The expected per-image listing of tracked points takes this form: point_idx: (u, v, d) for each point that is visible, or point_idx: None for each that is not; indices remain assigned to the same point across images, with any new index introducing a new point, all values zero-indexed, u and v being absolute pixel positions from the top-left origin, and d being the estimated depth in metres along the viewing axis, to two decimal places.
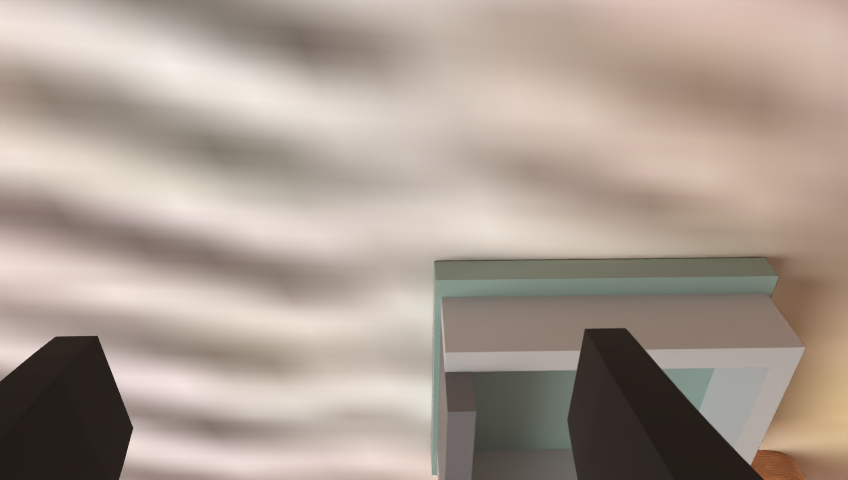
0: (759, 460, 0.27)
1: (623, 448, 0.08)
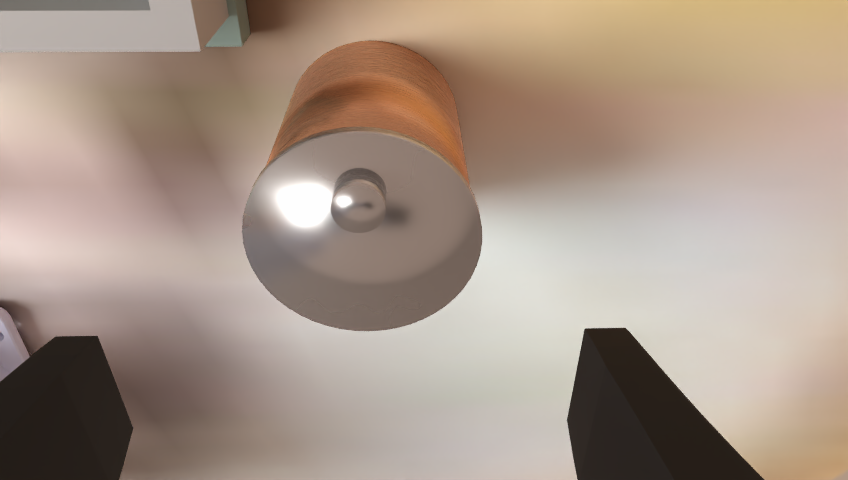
0: (359, 47, 0.16)
1: (623, 449, 0.08)
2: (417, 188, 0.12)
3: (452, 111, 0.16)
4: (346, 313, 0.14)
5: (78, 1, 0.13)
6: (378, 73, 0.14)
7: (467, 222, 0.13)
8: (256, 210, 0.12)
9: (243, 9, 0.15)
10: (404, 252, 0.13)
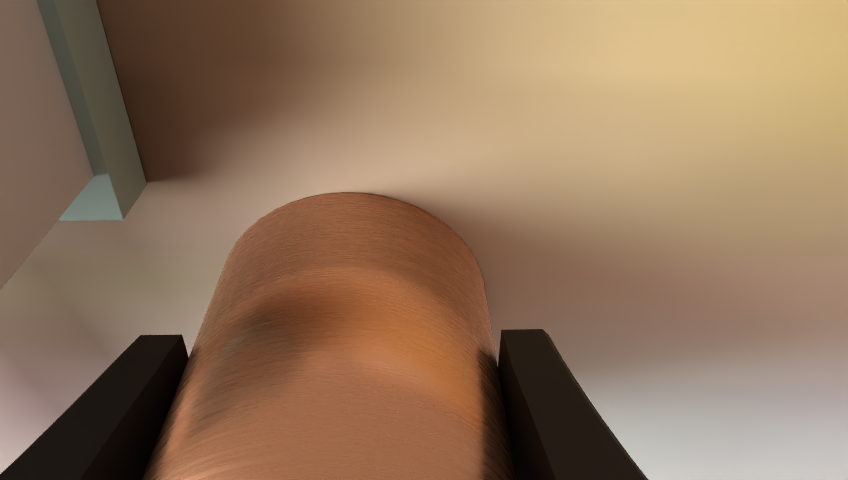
0: (326, 209, 0.10)
1: (525, 450, 0.08)
2: None
3: (482, 324, 0.09)
4: None
5: None
6: (354, 285, 0.08)
7: None
8: None
9: (126, 154, 0.09)
10: None
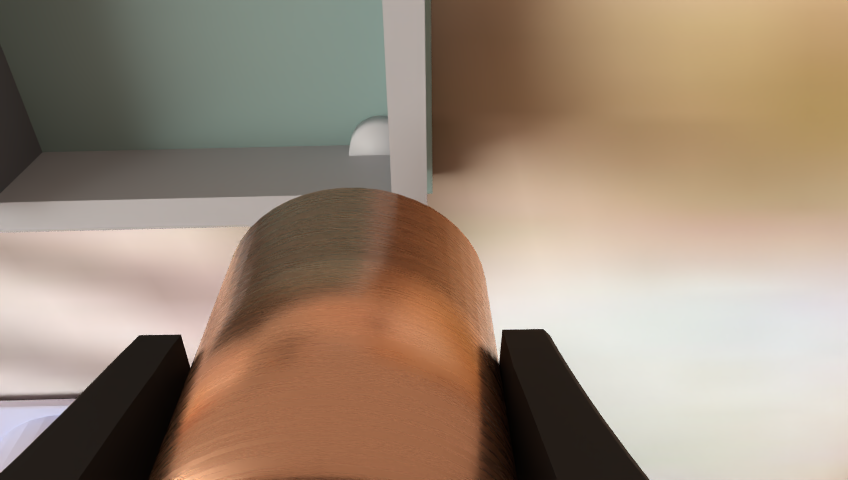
0: (322, 204, 0.10)
1: (526, 451, 0.08)
2: None
3: (478, 309, 0.09)
4: None
5: (321, 180, 0.15)
6: (348, 276, 0.08)
7: None
8: None
9: None
10: None
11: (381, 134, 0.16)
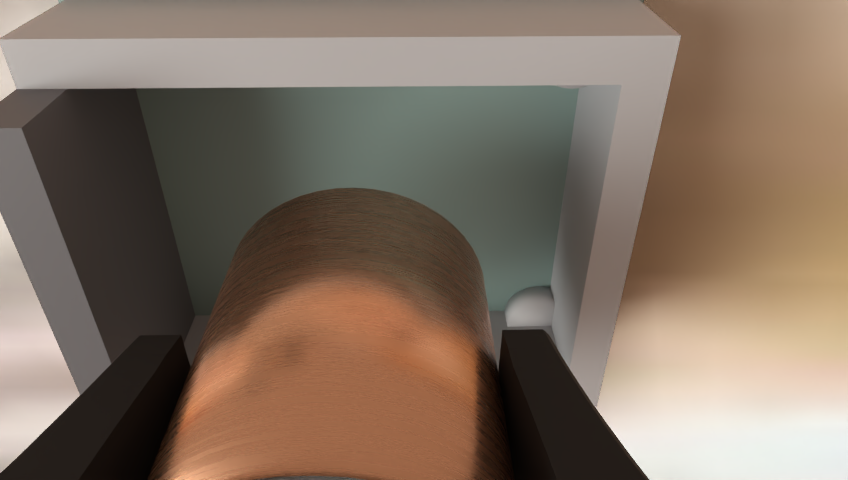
0: (316, 205, 0.10)
1: (526, 451, 0.08)
2: None
3: (473, 304, 0.09)
4: None
5: None
6: (341, 274, 0.08)
7: None
8: None
9: None
10: None
11: (542, 308, 0.16)
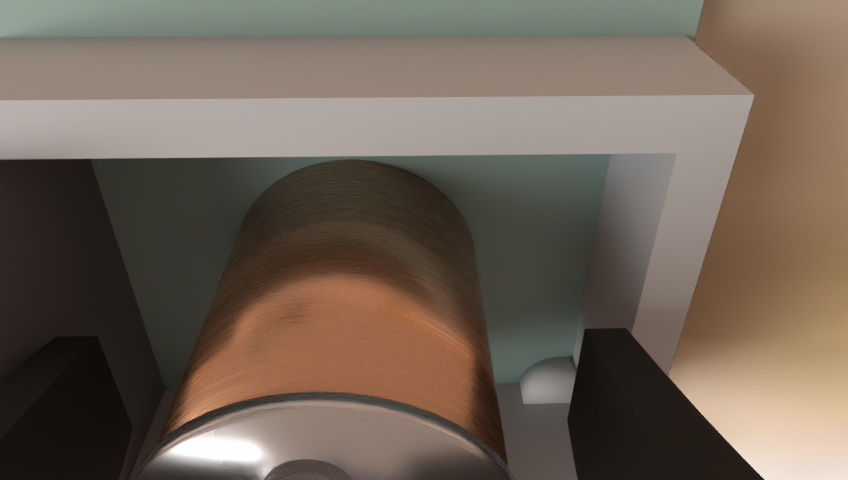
0: (319, 175, 0.11)
1: (623, 448, 0.08)
2: (406, 478, 0.07)
3: (464, 264, 0.10)
4: None
5: None
6: (342, 232, 0.09)
7: None
8: None
9: None
10: None
11: (564, 384, 0.14)
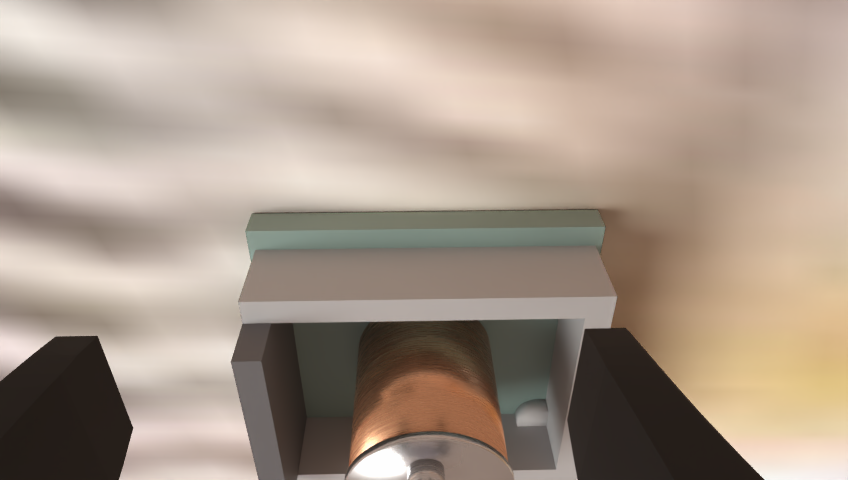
0: None
1: (623, 449, 0.08)
2: (466, 465, 0.17)
3: (485, 359, 0.20)
4: None
5: None
6: (428, 349, 0.19)
7: None
8: None
9: None
10: None
11: (540, 415, 0.24)
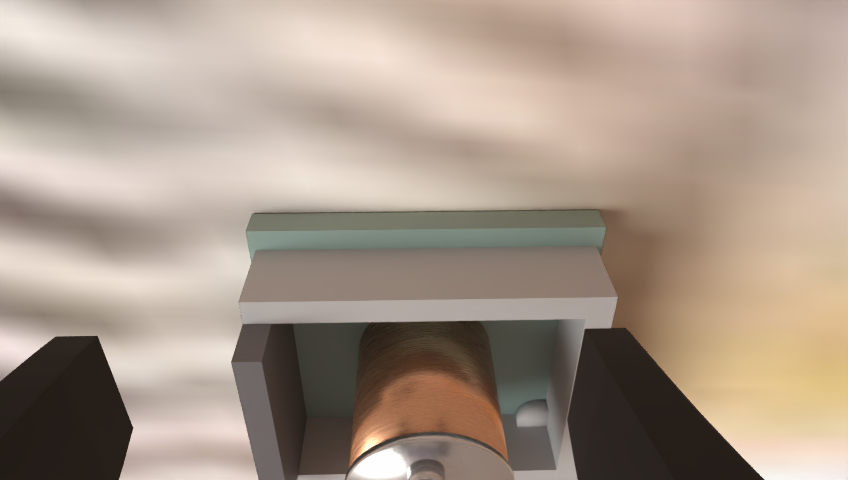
0: None
1: (623, 448, 0.08)
2: (466, 466, 0.17)
3: (486, 360, 0.20)
4: None
5: (507, 454, 0.23)
6: (428, 350, 0.19)
7: None
8: None
9: None
10: None
11: (541, 415, 0.24)
